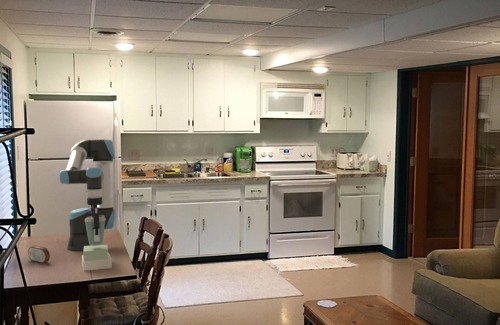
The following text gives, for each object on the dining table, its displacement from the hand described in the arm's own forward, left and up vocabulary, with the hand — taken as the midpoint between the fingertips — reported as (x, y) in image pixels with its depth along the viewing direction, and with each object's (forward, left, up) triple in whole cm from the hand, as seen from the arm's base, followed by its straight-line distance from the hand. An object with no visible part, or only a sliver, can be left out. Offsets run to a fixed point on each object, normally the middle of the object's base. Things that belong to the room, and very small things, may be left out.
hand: (95, 238), depth 269 cm
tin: (-20, -28, -15) cm, 37 cm away
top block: (0, 0, -10) cm, 10 cm away
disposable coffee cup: (0, 0, -3) cm, 3 cm away
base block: (0, 0, -15) cm, 15 cm away
